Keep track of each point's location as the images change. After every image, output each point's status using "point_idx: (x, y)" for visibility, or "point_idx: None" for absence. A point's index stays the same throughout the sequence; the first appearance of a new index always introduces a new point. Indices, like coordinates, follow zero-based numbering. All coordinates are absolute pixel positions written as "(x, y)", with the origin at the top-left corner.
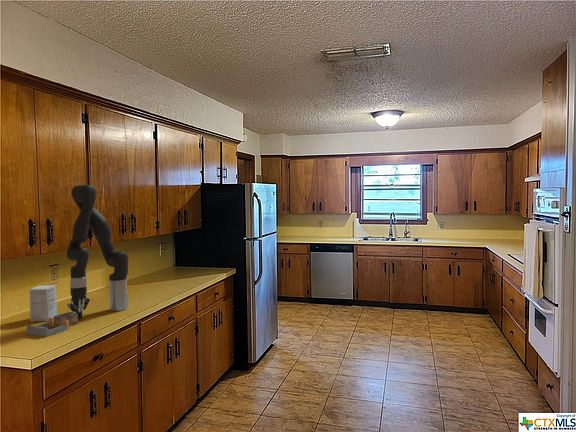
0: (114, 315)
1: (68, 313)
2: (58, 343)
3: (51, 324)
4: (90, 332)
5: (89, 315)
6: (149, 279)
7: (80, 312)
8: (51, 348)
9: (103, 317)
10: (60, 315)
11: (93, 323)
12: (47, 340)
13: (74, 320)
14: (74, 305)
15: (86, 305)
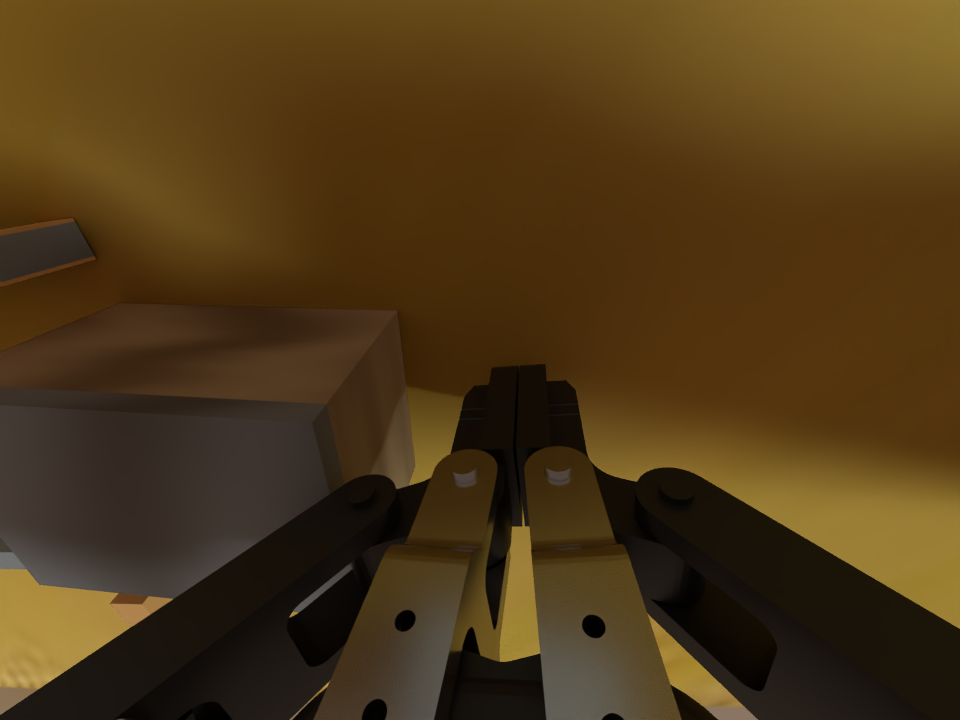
0: (939, 584)
1: (225, 494)
2: (70, 657)
3: (50, 270)
4: (327, 685)
5: (928, 239)
6: None
7: (514, 522)
8: (19, 673)
9: (804, 531)
10: (40, 470)
11: (519, 583)
12: (4, 575)
13: None
14: (366, 642)
15: (766, 666)
